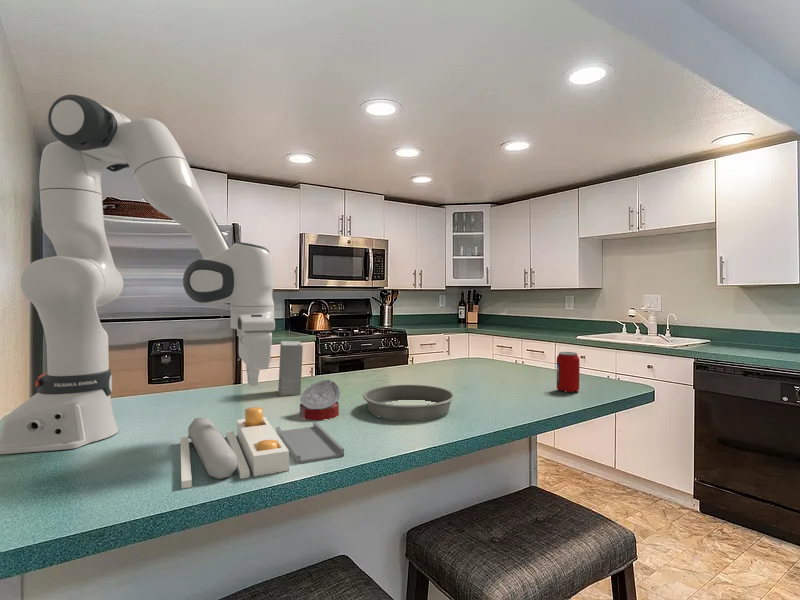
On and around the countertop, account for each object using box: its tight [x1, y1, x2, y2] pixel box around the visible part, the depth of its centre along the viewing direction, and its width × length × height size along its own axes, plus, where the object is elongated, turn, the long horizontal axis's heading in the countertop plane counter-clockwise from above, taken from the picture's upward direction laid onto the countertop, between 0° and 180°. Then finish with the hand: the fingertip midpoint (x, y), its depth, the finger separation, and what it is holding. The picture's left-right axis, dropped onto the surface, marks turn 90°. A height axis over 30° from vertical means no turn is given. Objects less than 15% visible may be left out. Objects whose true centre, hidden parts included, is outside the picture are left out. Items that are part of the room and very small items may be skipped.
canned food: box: [299, 379, 341, 421], centre depth 119 cm, size 11×10×10 cm
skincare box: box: [277, 340, 304, 397], centre depth 145 cm, size 8×7×16 cm
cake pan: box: [362, 384, 456, 421], centre depth 124 cm, size 25×25×4 cm
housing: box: [179, 416, 290, 489], centre depth 90 cm, size 17×25×4 cm
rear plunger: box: [244, 406, 264, 427], centre depth 99 cm, size 4×4×4 cm
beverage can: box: [556, 351, 581, 393], centre depth 146 cm, size 7×7×12 cm
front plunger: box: [257, 440, 277, 451], centre depth 85 cm, size 4×4×4 cm
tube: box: [187, 417, 237, 480], centre depth 89 cm, size 5×5×25 cm
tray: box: [275, 421, 345, 465], centre depth 96 cm, size 9×20×2 cm, turn 26°
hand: (252, 384), depth 99 cm, fingers closed
